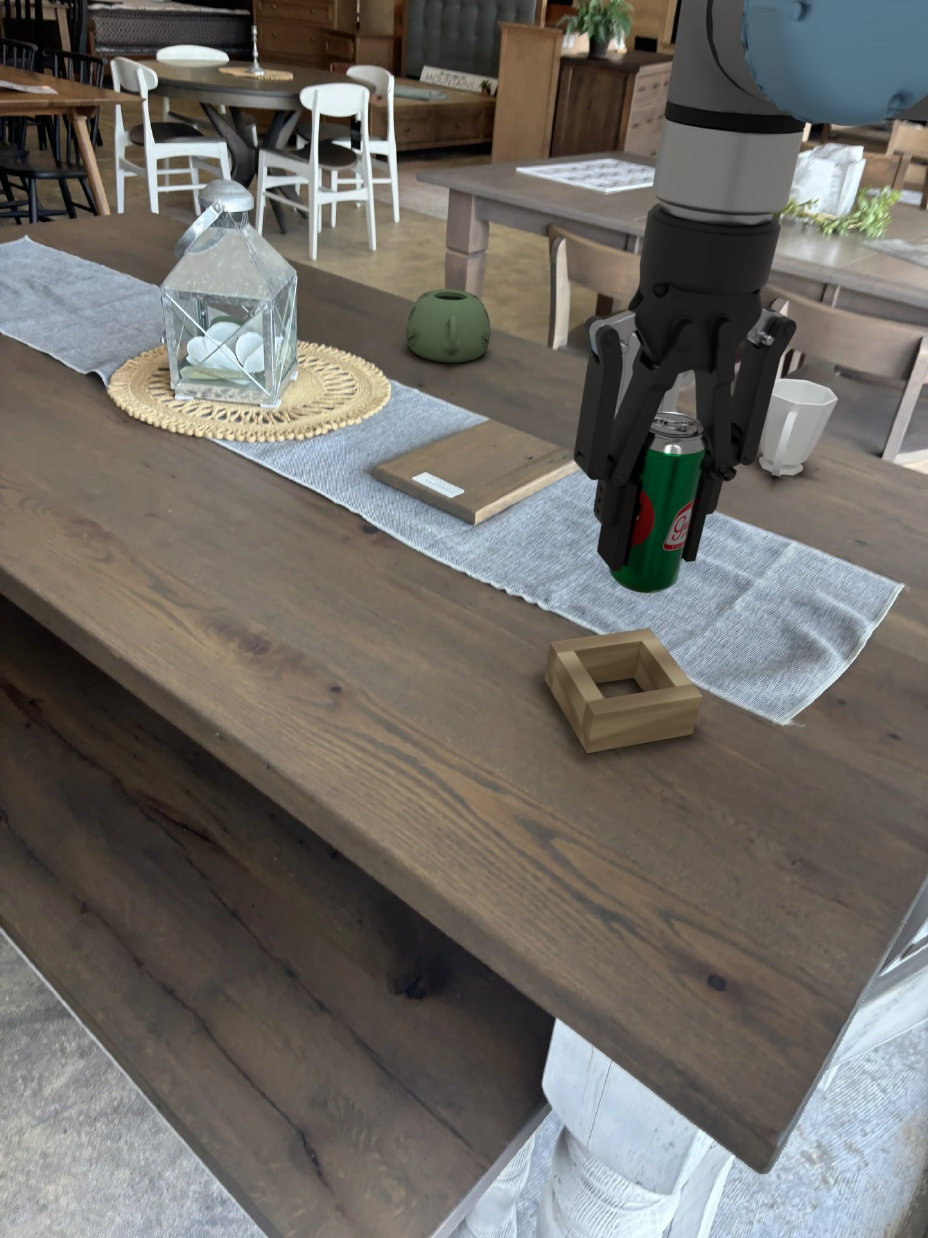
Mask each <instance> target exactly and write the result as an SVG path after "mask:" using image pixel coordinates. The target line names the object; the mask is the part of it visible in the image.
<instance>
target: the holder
mask: <svg viewBox="0 0 928 1238" xmlns="http://www.w3.org/2000/svg"><path fill="white" fill-rule="evenodd" d="M547 653H548V654H547V662H546V667H545V676H544V681H545V683H546V685H547V686H548V688H549V690H550V691H551V693H552V695H553V697H554V699H555V700H556V702H557V704H558V705H559V707H560V709H561V711H562V712H563V714H564V716H565V718H566V720H567V722H568V723H569V725H570V727H571V729H572V730H573V732H574V733H575V735H576V737H577V739H578V740H579V742H580V744H581V745H582V747H583V749H584V751H585V753H586V754H591V753H592V754H593V753H597V752H602V751H607V750H608V751H609V750H613V749H619V748H620V749H621V748H625V747H630V746H635V745H641V744H646V743H651V742H653V743H654V742H658V741H663V740H669V739H674V738H679V737H685V736H692V735H693V734H694V729H695V725H696V722H697V718H698V714H699V711H700V707H701V704H702V699H703V695H702V693H701V692H700V691H699V690H698V688H697V687H696V686H695V684H694V683H693V682H692V680H691V679H690V678H689V676H688V675H687V674H686V672H685V671H684V670H683V669H682V667H681V666H680V665H679V664H678V662H677V660H675V658H674V657H673V656H672V654H671V653H670V651H668V649H667V648H666V647H665V645H664V644H663V642H661V640H660V638H658V637H657V635H656V634H655V632H654V631H653V630H652V629H651V627H646V628H639V629H632V630H631V629H630V630H624V631H617V632H611V633H604V634H603V633H602V634H597V635H590V636H584V637H575V638H570V639H563V640H556V641H555V640H554V641H550V642H549V647H548V652H547ZM629 679H633V680H635V682H636V683H637V685H638V686H639V687H640V689H641V690H642V692H635V693H630V694H625V695H624V694H623V695H617V696H613V697H606V698H605V697H604V695H603V694H602V692H601V691H600V690H599V688H598V686H597V685H598V684H604V683H610V682H615V681H622V680H629Z"/></svg>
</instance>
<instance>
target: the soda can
mask: <svg viewBox="0 0 928 1238" xmlns="http://www.w3.org/2000/svg"><path fill="white" fill-rule="evenodd" d="M705 432H706V429H705V426H704V424H703V423H702V422H700V421H699V420H697V419H696V418H695V417H693V416H691V415H687V414H684V413H680V412H677V413H675V412H657V414H656V416H655V418H654V421H653V423H652V425H651V428H650V430H649V432H648V434H647V437H646V439H645V441H644V444H643V446H642V448H641V451H640V453H639V455H638V458H637V460H636V462H635V465H634V467H633V469H632V472H631V474H630V476H629V479H630V480H631V481H632V482H633V483H634V484H635V485H636V486H637V493H636V498H635V504H634V509H633V514H632V520H631V525H630V530H629V536H628V541H627V547H626V552H625V557H624V563H623V568H622V570H620V571H612V570H611V569H610V568H609V567H608V566H607V568H608V572H609V574H610V575H611V577H612V578H613V580H614V581H615V583H617V584H618V585H620V586H621V587H623V588H625V590H629V591H632V592H635V593H640V594H656V593H662V592H663V591H666V590H667V589H670V588H671V587H672V586H673V585H675V584H676V583H677V582H678V580H679V576H680V570H681V566H682V562H683V553H684V549H685V545H686V540H687V536H688V532H689V527H690V523H691V519H692V514H693V510H694V505H695V501H696V497H697V492H698V488H699V484H700V479H701V475H702V470H703V466H704V462H705V457H706V453H707V449H708V442H707V440H706V437H705V435H704V434H705Z"/></svg>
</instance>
